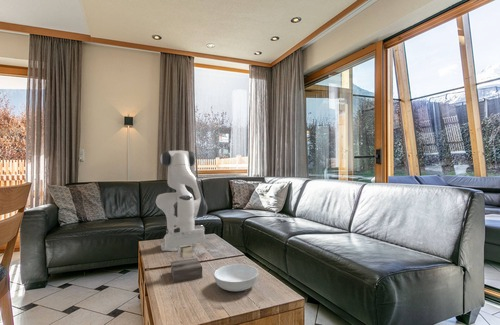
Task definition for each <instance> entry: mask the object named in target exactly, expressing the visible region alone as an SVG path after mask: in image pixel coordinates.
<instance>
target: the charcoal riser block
mask: <svg viewBox="0 0 500 325" xmlns="http://www.w3.org/2000/svg"><path fill="white" fill-rule="evenodd" d="M170 271H171V272H170V273H171V277H172V280H173V283H182V282H186V281H193V280H198V279H203V265H202V264H201V263H200V260H199V259H198V258H197V257H196V258H189V259H188V258H187V259H183V260H176V261H171V262H170Z"/></svg>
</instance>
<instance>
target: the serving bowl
mask: <svg viewBox="0 0 500 325" xmlns="http://www.w3.org/2000/svg"><path fill="white" fill-rule="evenodd" d="M213 277H214V281H215V283H216V284H217V286H218V287H219V288H221V289H223V290H225V291H229V292H242V291H246V290H248V289H250V288H252V287H253V286H254V285H255V284H256V283H257V281H258V278H259V270H258V268H256V267H254V266H252V265H249V264H244V263H243V264H242V263H235V264H228V265H223V266H221V267H219V268H217V269H216V270H215V271H214V273H213Z"/></svg>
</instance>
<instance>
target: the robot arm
mask: <svg viewBox="0 0 500 325" xmlns="http://www.w3.org/2000/svg"><path fill="white" fill-rule="evenodd" d="M159 160H160V163H161V165H162V167H165V168H168V169H167V186H168V187H169V188H171V189H174V190H175V192H164V193H160V194H158V195H157V196H156V199H155V204H156V205H155V206H157V208H159V209H160V210H161V211H162V212H163V214H164V215H165V217H166V230H165V231H166V232H165V233H166V234H165V235H164V237H163V238H161V243H160V249H161V251H162V252H165V251H166V252H176V251H177V253H178V256H180V255H182V251H180V247H181V246H187V245H190V246H191V247H193V253H194V252H195V248H196V247H197V244H200V243H201V244H202V243H205V241H206V236H205V231H206V230H205V226H204V225H202V224H199V225H195V218H203V217H204V216H206V214H207V213H208V205H207V203H206V199H205V197H204V194H203V191H202V188H201V184H200V182H199V179H198V177H197V175H195V174H193V172H192V171H191V170H192V169H191V167H193V166H194V165H195V162H196V155H195V152H193V151H191V150H181V149H180V150H179V149H178V150H164V151H162V152H161V155H160V159H159ZM186 186H187V187H189V188H191V189H192V191H193V194H194V196H193V194H192V193H191V191H188V189H187V187H186ZM194 197H195V198H194Z"/></svg>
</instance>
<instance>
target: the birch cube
mask: <svg viewBox="0 0 500 325" xmlns="http://www.w3.org/2000/svg"><path fill="white" fill-rule="evenodd" d="M180 251H182V255H179V257H180V258H182V259H183V260H186V259H188V258H189V259H191V258H193V255H194V254H193V253H194V252H193V247H192V245H191V244H190V245H187V246H181V247H180Z"/></svg>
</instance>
